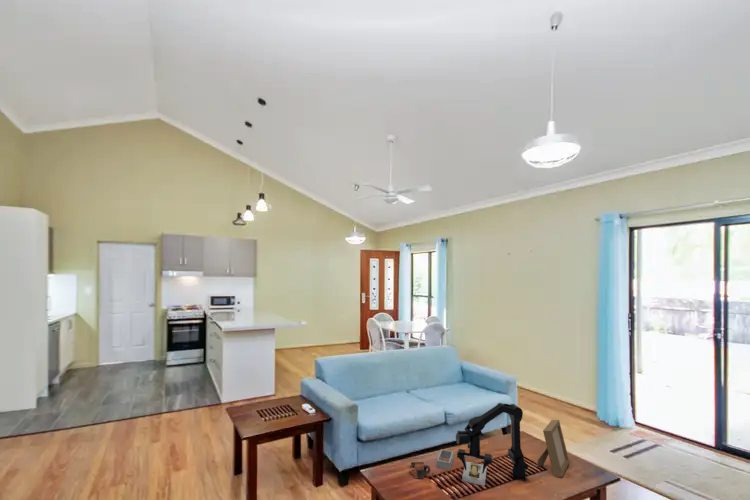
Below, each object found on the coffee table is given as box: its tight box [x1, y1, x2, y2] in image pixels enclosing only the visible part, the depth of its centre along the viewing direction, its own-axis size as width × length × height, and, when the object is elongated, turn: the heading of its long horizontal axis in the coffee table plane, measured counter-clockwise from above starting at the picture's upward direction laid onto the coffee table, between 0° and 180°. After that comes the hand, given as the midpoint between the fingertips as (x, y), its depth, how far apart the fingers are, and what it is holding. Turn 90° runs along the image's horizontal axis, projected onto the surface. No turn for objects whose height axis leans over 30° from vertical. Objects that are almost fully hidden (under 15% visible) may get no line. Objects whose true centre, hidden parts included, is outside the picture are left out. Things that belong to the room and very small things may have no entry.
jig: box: [461, 461, 488, 487], centre depth 217 cm, size 12×18×2 cm, turn 161°
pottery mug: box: [409, 461, 432, 479], centre depth 216 cm, size 12×10×8 cm
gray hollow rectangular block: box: [436, 449, 454, 471], centre depth 230 cm, size 8×15×4 cm, turn 161°
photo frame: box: [536, 419, 570, 478], centre depth 230 cm, size 15×22×25 cm
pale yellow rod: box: [471, 462, 479, 478], centre depth 213 cm, size 4×4×8 cm
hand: (474, 471), depth 213 cm, fingers open, 9 cm apart
